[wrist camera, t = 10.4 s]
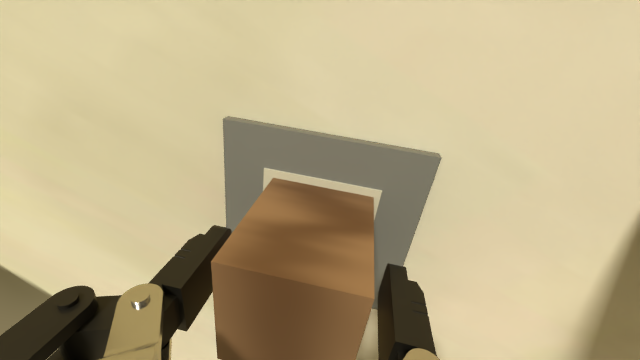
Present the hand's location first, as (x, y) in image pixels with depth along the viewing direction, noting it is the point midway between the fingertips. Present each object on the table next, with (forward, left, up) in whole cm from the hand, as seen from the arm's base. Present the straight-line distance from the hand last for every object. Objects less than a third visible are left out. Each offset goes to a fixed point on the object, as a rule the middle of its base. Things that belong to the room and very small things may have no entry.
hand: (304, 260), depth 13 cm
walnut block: (0, 0, -2) cm, 2 cm away
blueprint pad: (0, 0, -3) cm, 3 cm away
